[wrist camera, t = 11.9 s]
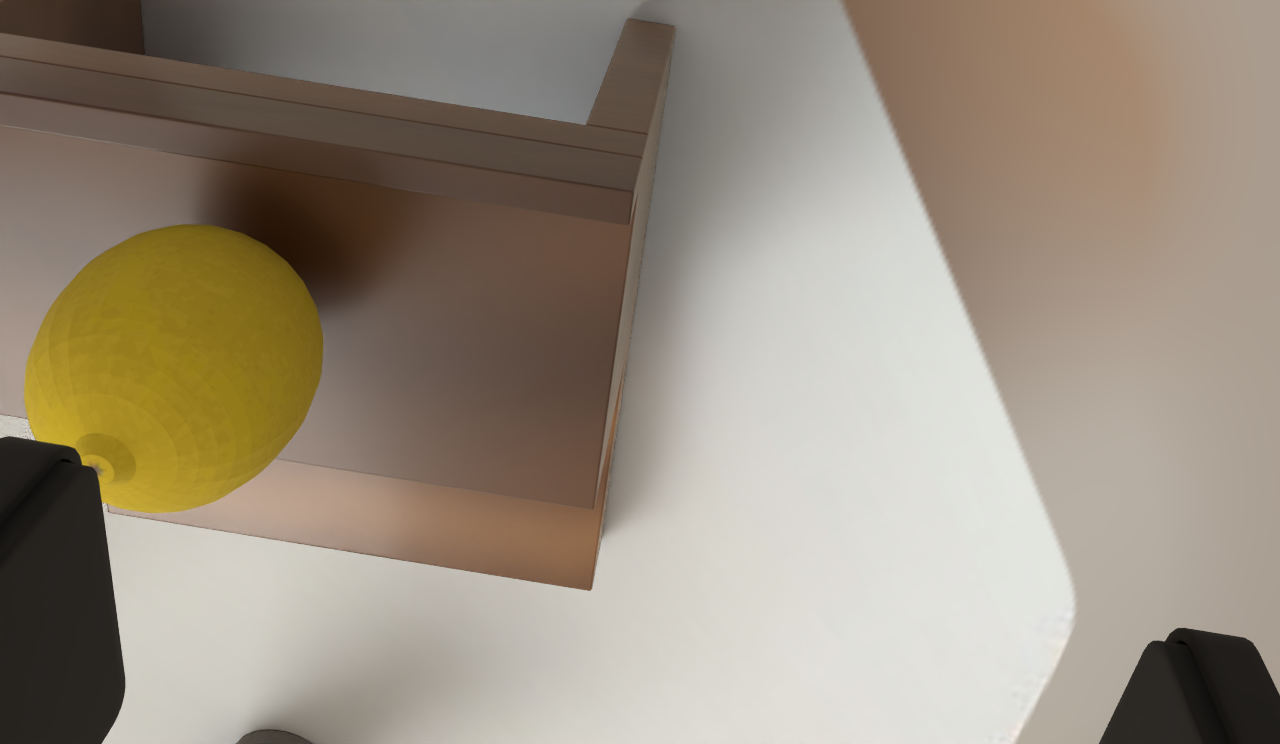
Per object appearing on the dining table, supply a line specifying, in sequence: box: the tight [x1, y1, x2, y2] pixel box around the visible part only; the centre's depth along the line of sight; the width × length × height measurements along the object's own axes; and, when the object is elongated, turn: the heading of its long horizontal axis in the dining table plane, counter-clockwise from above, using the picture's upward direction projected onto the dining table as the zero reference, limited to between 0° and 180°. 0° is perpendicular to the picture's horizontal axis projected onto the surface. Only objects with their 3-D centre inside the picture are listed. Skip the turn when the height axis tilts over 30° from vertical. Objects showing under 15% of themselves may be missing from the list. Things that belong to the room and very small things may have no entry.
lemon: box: [24, 224, 324, 513], centre depth 26 cm, size 6×6×8 cm
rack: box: [0, 0, 676, 591], centre depth 36 cm, size 20×18×13 cm
